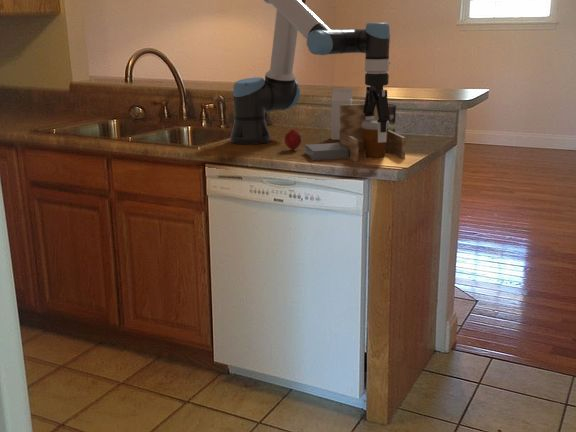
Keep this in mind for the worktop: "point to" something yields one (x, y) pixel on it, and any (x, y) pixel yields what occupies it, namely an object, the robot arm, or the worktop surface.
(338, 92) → the milk carton
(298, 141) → the onion
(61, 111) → the worktop surface
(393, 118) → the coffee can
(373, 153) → the disposable coffee cup
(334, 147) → the trivet
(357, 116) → the brown patterned armchair
